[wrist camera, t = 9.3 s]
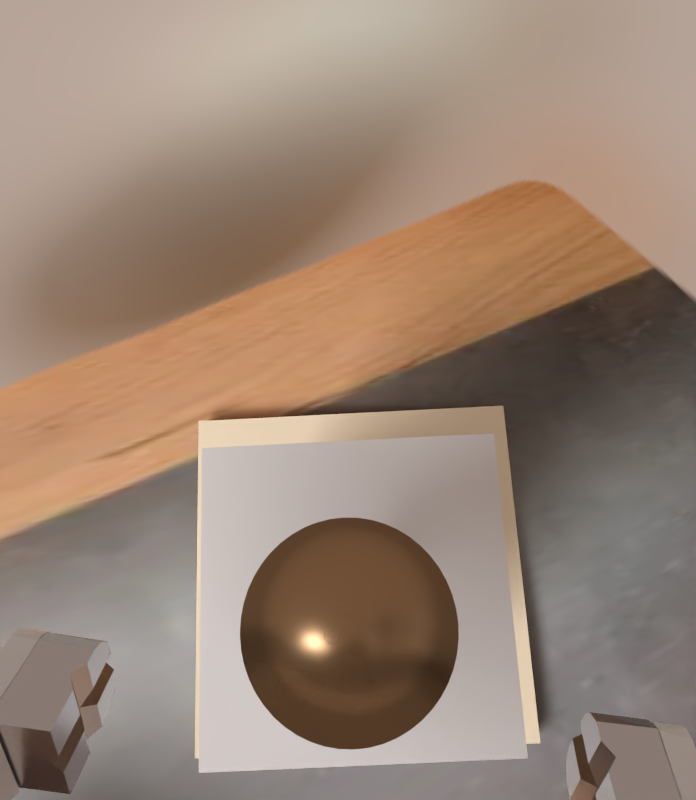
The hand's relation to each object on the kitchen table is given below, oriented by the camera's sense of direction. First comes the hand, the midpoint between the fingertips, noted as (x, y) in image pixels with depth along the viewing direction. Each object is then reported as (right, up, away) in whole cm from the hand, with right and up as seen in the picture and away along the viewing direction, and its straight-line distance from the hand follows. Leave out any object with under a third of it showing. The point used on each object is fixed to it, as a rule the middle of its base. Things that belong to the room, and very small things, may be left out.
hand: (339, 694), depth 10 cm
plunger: (+1, -3, +17) cm, 18 cm away
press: (+1, -5, +25) cm, 25 cm away
